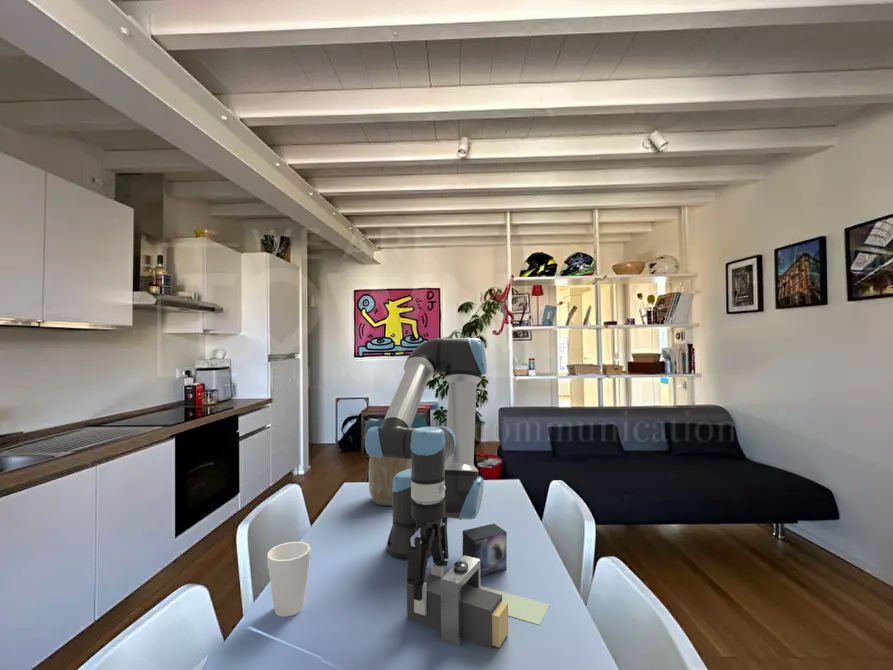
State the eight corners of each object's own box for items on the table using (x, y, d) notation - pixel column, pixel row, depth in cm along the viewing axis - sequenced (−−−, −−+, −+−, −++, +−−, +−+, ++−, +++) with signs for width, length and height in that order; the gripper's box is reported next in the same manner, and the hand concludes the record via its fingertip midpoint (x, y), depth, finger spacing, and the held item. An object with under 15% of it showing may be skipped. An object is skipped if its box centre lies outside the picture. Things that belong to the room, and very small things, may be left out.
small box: (473, 581, 110) (473, 539, 110) (461, 569, 116) (460, 530, 116) (508, 571, 115) (507, 531, 115) (494, 560, 121) (493, 522, 121)
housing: (441, 640, 88) (440, 574, 88) (464, 611, 98) (464, 551, 98) (458, 647, 86) (458, 579, 86) (480, 616, 96) (480, 555, 96)
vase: (411, 508, 160) (410, 434, 160) (364, 508, 160) (364, 434, 161) (415, 492, 177) (414, 425, 178) (373, 492, 177) (372, 426, 178)
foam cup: (285, 626, 93) (284, 565, 93) (258, 612, 98) (258, 554, 98) (319, 603, 101) (319, 547, 101) (293, 592, 106) (293, 538, 106)
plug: (407, 621, 95) (406, 584, 95) (421, 606, 100) (421, 571, 100) (498, 654, 85) (497, 613, 85) (509, 636, 90) (508, 597, 90)
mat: (463, 603, 101) (463, 601, 101) (477, 586, 108) (477, 584, 108) (539, 626, 92) (539, 624, 92) (549, 606, 99) (549, 604, 99)
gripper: (419, 517, 86) (420, 635, 85) (462, 488, 103) (463, 585, 103) (388, 511, 89) (389, 624, 89) (435, 483, 107) (436, 578, 106)
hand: (429, 603), depth 96 cm, fingers open, 7 cm apart
